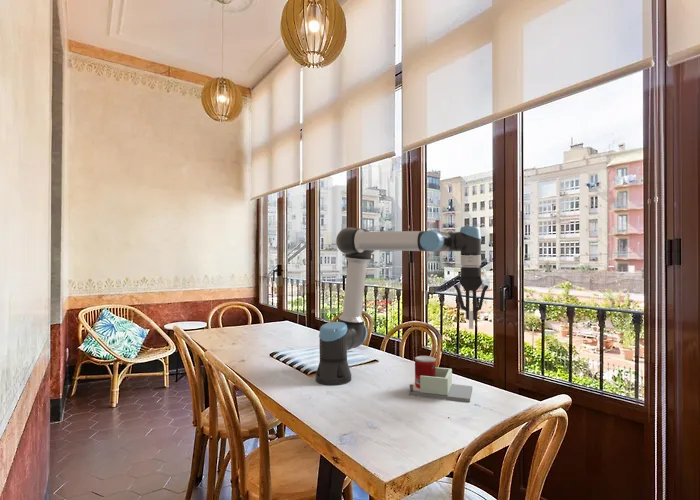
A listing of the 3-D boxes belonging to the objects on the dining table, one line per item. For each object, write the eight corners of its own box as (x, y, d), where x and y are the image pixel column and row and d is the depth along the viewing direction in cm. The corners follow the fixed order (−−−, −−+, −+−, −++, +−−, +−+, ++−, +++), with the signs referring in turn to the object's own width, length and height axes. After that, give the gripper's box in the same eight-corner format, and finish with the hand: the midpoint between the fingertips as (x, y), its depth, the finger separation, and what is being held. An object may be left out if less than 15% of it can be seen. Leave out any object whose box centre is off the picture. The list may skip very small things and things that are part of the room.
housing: (420, 392, 154) (420, 376, 154) (426, 381, 167) (426, 366, 167) (447, 395, 151) (447, 378, 151) (451, 383, 164) (451, 368, 164)
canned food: (435, 390, 156) (435, 361, 156) (414, 389, 158) (414, 360, 158) (435, 384, 164) (435, 356, 164) (415, 382, 165) (415, 355, 165)
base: (408, 395, 155) (408, 385, 155) (416, 383, 169) (416, 374, 169) (469, 402, 148) (469, 391, 148) (472, 389, 162) (472, 379, 162)
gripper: (452, 266, 158) (452, 328, 157) (488, 267, 153) (488, 330, 153) (454, 266, 165) (454, 325, 164) (488, 266, 160) (489, 327, 160)
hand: (471, 328), depth 159 cm, fingers closed
